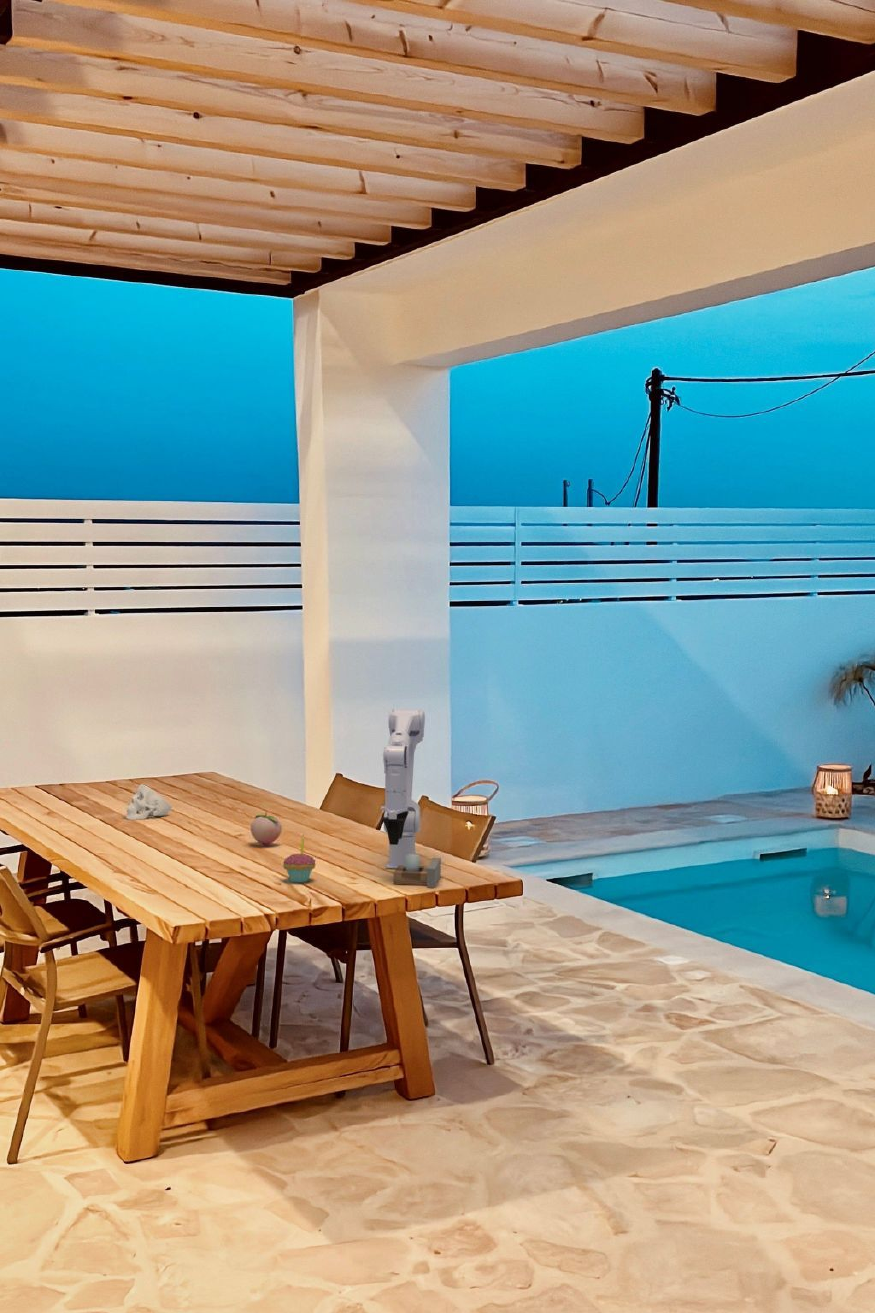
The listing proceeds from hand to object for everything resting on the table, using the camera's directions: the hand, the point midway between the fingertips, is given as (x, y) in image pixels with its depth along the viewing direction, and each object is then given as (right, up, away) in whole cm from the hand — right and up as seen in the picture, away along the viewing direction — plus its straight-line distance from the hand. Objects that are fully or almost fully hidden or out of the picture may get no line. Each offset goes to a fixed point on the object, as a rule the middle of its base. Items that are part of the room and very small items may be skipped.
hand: (395, 841), depth 351 cm
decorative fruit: (-40, -7, +42) cm, 59 cm away
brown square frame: (+5, -10, -3) cm, 11 cm away
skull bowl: (-85, -5, +89) cm, 123 cm away
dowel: (+4, -10, -3) cm, 11 cm away
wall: (+10, -10, -3) cm, 15 cm away
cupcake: (-25, -10, -4) cm, 27 cm away
